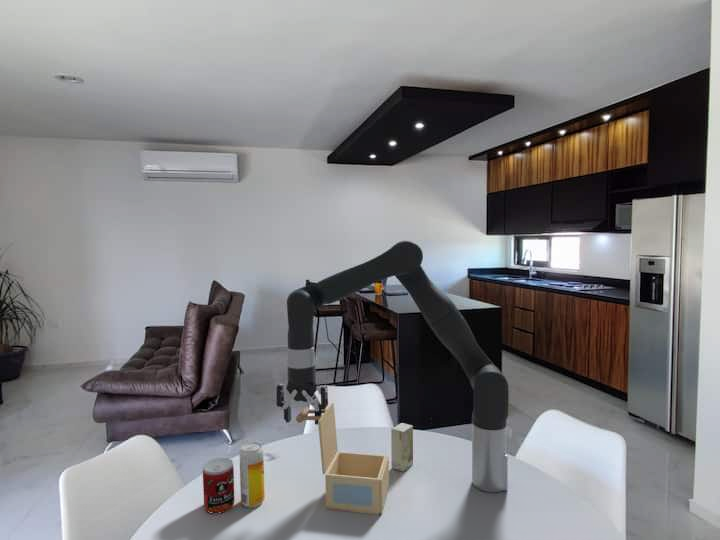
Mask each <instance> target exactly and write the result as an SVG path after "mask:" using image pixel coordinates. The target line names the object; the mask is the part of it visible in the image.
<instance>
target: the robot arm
mask: <svg viewBox="0 0 720 540" xmlns="http://www.w3.org/2000/svg"><path fill="white" fill-rule="evenodd" d="M423 258H424V255H423V250H422V248H421V247H420V246H419V244H418V243H416V242H413V241H412V240H401V241H398V242H397V243H395V244H394V245H392V246H391V247H390V248H389V249H387V250H386V251H384V252H382V253H380V254H379V255H378V256H376V257H374V258H371V259H370V260H368V261H365V262H362V263H360V264H358V265H354V266H353V267H350V268H347V269H345V270H342V271H340V272H337V273H334V274H333V275H330V276H328V277H326V278H324V279H322V280H320V281H317V282H314V283H311V284H308V285H306V286H302V287H300V288H298V289H295V290H293V291H292V292H291V293H289V294H288V297H287V299H286V312H287V325H288V329H287V353H286V354H287V355H286V356H287V357H286V359H287V360H286V365H287V384H285V383H283V382H281V383H279V384H278V385H276V406H277V407H279V408H282V409H283V420H284V421H285V422H286V423H287V424H289V423H291V421H292V407H291V405H292V403H293V401H295V402H306V403H307V402H308V403H309V405H311V406H312V408H313V409H315V413H314V416H322V415H323V413H321V410H322V409H327V408H328V407H329V396H328V395H329V394H328V392H329V391H328V385H327V384H323V385H317V379H316V375H317V374H316V353H315V336H314V315H315V314H314V313H315V312H314V311H315V309H317V308H319V307H322V306H325V305H329V304H334V303H336V302H338V301H340V300H344V299H345V298H348V297H349V296H352V295H354V294H356V293H358V292H360V291H362V290H364V289H366V288H368V287H369V286H371V285H373V284H376V283H378V282H381V281H383V280H385V279H388V278H392V277H395V278H396V279H397V280H398V282H399V283H400V284H401V285H402V286H403V287H404V288H405V290H406V291H407V293H409V295H410V296H411V298H412V300H413V302H414V303H415V305H416V306H417V308H418V310H419V312H420V313H421V315H422V316H423V318H424V320H425V321H426V323H427V324H428V326H429V327H430V328H431V331H433V333H434V335H435V336H436V337H437V339H438V340H439V341H440V342H441V344H442V345H444V347H445V348H446V349H448V351H449V352H450V353H451V354H452V355H453V356H454V357H455V358H456V360H457V361H458V362H459V364H460V366H461V368H462V370H463V371H464V373H465V375H466V377H467V378H468V380H469V383H470V385H471V388H472V390H473V410H472V412H471V413H472V415H471V439H472V440H471V445H472V446H471V461H472V462H471V464H472V465H471V467H472V468H471V477H472V478H471V482H472V485H473V486H474V487H476V488H477V489H478V490H481V491H482V492H483V491H484V492H486V493H500V492H503V491H506V492H508V485H509V484H508V482H509V481H508V474H509V473H508V471H509V470H508V469H509V468H508V467H509V466H508V465H509V464H508V459H509V458H508V453H507V420H508V417H509V399H510V397H509V395H510V391H509V383H508V379H507V378H506V376H505V375H504V374H503V372H502V371H501V370H500V369H499V367H497V366H496V365H495V364H494V363H493V362H492V360H491V359H490V358H489V356H487V354H485V352H484V351H483V350H482V348H481V346H480V345H479V344H478V342H477V341H476V340H477V339H476V338H475V336H474V333H473V331H472V330H471V327H470V326H469V324H468V322H467V321H466V319H465V317H464V316H463V314H462V312H461V311H460V310H459V309H458V307H457V306H456V304H455V303H454V302H453V301H452V300H451V299H450V297H448V295H447V294H446V293H444V291H442V290H441V289H440V288H439V287H438V286H437V285H436V284H434V282H433V281H432V280H431V279H430V278H429V277H428V275H427V273H426V272H425V270H424V268H423V267H422V263H423ZM286 391H288V393H289V396H288V398H287V399H286V401H285V392H286ZM316 392H318V395H320V401H319V398H318V397H317V395H316ZM314 425H318V420H314Z"/></svg>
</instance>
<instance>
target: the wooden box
mask: <svg viewBox="0 0 720 540" xmlns="http://www.w3.org/2000/svg"><path fill="white" fill-rule="evenodd" d="M389 459H390V458H389V456H388V455H387V454H386V455H385V454H373V453H372V454H371V453H370V454H369V453H361V452H360V453H359V452H348V451H347V452H345V451H337V453H336V455H335V457H334V459H333V460H332V462H331V464H330V466H329V468H328V469H327V471H326V473H325V474H324V475H325V477H324V479H325V509H326V510H332V511H333V510H334V511H342V512H351V513H359V514H360V513H361V514H367V515H368V514H369V515H378V516H381V514H383V511H384V506H385V503H386V500H387V495H388V491H389V488H390V465H389V464H390V461H389Z"/></svg>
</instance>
